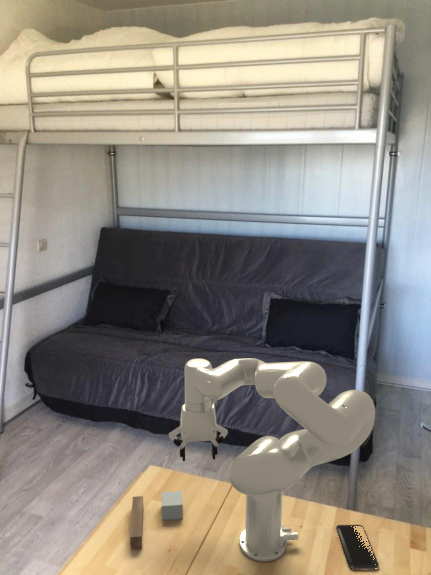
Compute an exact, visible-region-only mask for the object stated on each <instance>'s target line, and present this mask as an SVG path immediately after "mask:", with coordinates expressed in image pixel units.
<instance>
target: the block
mask: <svg viewBox="0 0 431 575" xmlns="http://www.w3.org/2000/svg"><path fill="white" fill-rule="evenodd" d="M183 502H184V501H183V490H176V491H163V492H161V520H162V521H171V520H182V519H183V518H184V513H183V512H184V511H183V510H184V507H183Z"/></svg>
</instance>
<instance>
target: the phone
mask: <svg viewBox="0 0 431 575" xmlns="http://www.w3.org/2000/svg"><path fill="white" fill-rule="evenodd" d="M351 526H352V527H351ZM354 526H361V527H363V529H365V527H364V526H363V525H362V524H337V525H336V526H335V527H336V528H335V531H336V530H337V531H336V533H338V534H337V536H339V537H338V539H340V540H339V542H341V543H340V545H342V546H341V549H342V551H343V556H344V555H345V556H344V559H345V558H346V559H345V561H347V562H346V564H348V565H347V567H348V568H350V570H351V569H354V570H353V571H357V570H356V569H375V568H378V569H379V566H380V565H379V563H378V562H379V561H378V559H377V557H376V554H375V552H374V549H373V547H372V545H371V542H370V539H369V537H368V534H367V532H366V530H364V531H365V534H366V536H367V539H368V542H369V544H370V545H369V546H371V549H372V550H371V551H373V555H371V554H372V553H371V551H369V552H368V550H369V549H370V548H369V549H367V548H365V547H366V546H363V545H364V544H365V543H364V541H363V542H360V541H361V540H362V538H361V537H362V536H360V538H361V540H360V538H358V536H359V535H360V533H359V535H357V534H358V532H356V531H357V530H355V532H354V528H353V527H354ZM355 528H356V527H355ZM355 533H356V534H355ZM356 536H357V537H356ZM357 538H358V539H357ZM358 540H359V541H358ZM366 542H367V541H366ZM362 543H364V544H362ZM361 544H362V545H361ZM359 546H360V547H359ZM362 546H363V547H362ZM369 546H367V547H369ZM364 548H365V549H364ZM370 555H371V556H370ZM373 556H374V558H375V559H374V558H373ZM373 559H374V560H373ZM375 564H376V565H375Z"/></svg>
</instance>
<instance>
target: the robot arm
mask: <svg viewBox="0 0 431 575" xmlns="http://www.w3.org/2000/svg"><path fill="white" fill-rule="evenodd" d="M327 379H328V378H327V374H326V371H325V369H324V368H323V367H322V366H321V365H320V364H319V363H317V362H314V361H308V360H307V361H303V360H301V361H287V362H286V361H285V362H284V361H283V362H265V361H263V360H261V359H258V358H253V357H252V358H251V357H249V358H234V359H230V360H227V361H226V362H224V363H222V364H220V365H218V366H217V367H214V368H213V366H212V363H211V362H210V361H209V360H207V359H205V358H192V359H189V360H188V361H186V363H185V365H184V404H183V405H182V406H181V412H180V420H179V421H180V424H179V426H178V427H176V428H175V429H173V430H172V431H170V432H168V437H169V439H170V440H171V441H172V443H173V444H174V445H175V446H177V448H178V449H179V458H182V462H186V445H187V444H188V443H195V442H209V441H210V442H211V457H212V460H216V456H218V447H219V446H220V444H221V443H222V442H223V441H224V440H225V439H226V437H227V436H228V434H229V432H228V429H227V428H225V427H223V426H222V425H220V424H218V423H217V415H216V407H215V404H217V403H218V401H219V400H221V399H223V398H225V397H226V396H228V394H230V393H231V392H234V391H235V390H237V389H238V388H241V386H248V385H249V386H253V385H255V388H256V391H257V393H258V394H259V395H260V396H261V397H262V398H265V399H275V401H276V403H277V404H278V405H279V407H280V408H281V409H282V410H283V412H285V413H286V414H287V415H288V416H289V417H291V418H292V419H293V420H294V421H296V422H297V424H299V425H300V426H302V427H303V429H302V428H301V429H299V430H294V431H292V432H291V431H290V432H289V433H286V434H284V435H283V436H281V438H277V437H275V436H271V435H265V436H262V437H259V438H258V439H256V440H255V441H254V442H253V443H251V444H250V445H249V446H248V447H246V449H245V450H243V451H242V452H241V453H240V454H239V455H238V456H236V458H235V459H233V461H232V462H231V464H230V465H229V468H228V469H229V470H228V478H229V479H228V480H229V482H230V484H231V486H232V487H233V488H234V489H235V490H236V491H237V492H238V493H240V494H243V495H245V528H244V529H243V530H241V533H240V535H239V539H238V540H239V543H238V545H239V548H240V550H241V551H242V553H243V554H245V556H246V557H248V558H250V559H251V560H254V561H258V562H272V561H275V560H277V559H279V558H280V557H281V556H283V554H284V553H285V551H286V546H287V542H288V541H294V540H295V541H297V540H299V533H298V531H292V527H291V526H285V527H283V526H282V512H283V509H282V508H283V495H284V494H283V493H284V491H285V490H288V489H290V488H291V487H294V486H295V485H296V484H297V483H298V482H299V481H300V479H301V478H302V477H304V475H306V473H307V472H308V471H310V469H312V468H313V467H315V466H318V465H322V464H325V463H330V462H332V461H336V460H339V459H341V458H344V457H346V456H349V455H350V454H352V453H354V452H355V451H356V450H357V449H358V448H360V447H361V446H362V444H364V442H365V441H366V440H367V438H369V436H370V434H371V432H372V430H373V428H374V424H375V421H376V420H375V419H376V407H375V403H374V400H373V399H372V398H371V396H370V395H369V394H368V393H367V392H365V391H362V390H360V389H349V390H346V391H343V392H341V393H339V394H338V395H337V396H335V398H333V399H332V400H331V401H330V402H329V403H327V402H326V401H324V399H322V398H321V397H320V395H321V394H322V392H324V389H325V387H326V386H327ZM218 432H219V433H220V434H219V435H218ZM179 434H180V439H179V438H178V437H177V435H179Z"/></svg>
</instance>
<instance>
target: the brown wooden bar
mask: <svg viewBox="0 0 431 575" xmlns="http://www.w3.org/2000/svg"><path fill="white" fill-rule="evenodd" d="M130 519H131V520H130V521H131V522H130V532H129V534H130V535H129V539H130V550H142V549H143V533H144V532H143V529H144V496H143V495H140V496H139V495H138V496H132V504H131V517H130Z"/></svg>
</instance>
